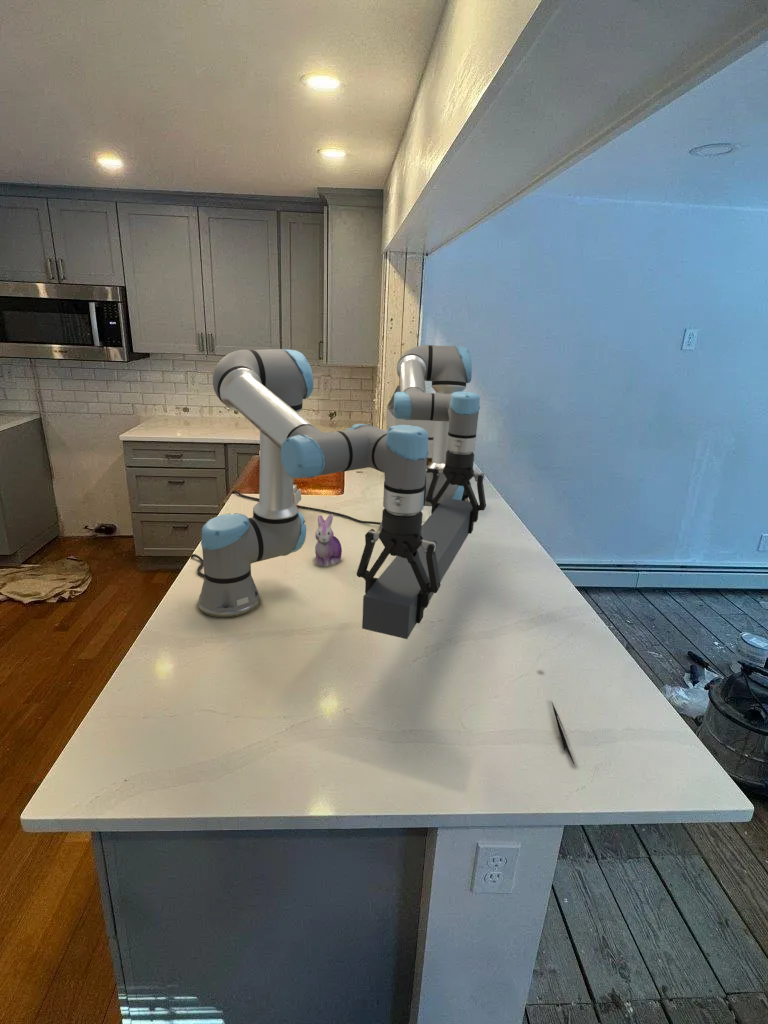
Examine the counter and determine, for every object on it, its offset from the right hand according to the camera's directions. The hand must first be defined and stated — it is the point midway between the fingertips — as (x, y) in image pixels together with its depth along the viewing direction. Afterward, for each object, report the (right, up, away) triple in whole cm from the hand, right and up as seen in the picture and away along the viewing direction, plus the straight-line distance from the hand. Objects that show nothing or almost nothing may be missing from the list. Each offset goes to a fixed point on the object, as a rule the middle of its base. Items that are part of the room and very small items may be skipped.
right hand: (453, 528), depth 159 cm
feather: (+15, -36, -46) cm, 60 cm away
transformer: (-2, +24, +116) cm, 118 cm away
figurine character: (+11, +7, +71) cm, 72 cm away
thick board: (-9, -8, -23) cm, 26 cm away
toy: (-57, +3, +52) cm, 77 cm away
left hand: (-17, -16, -46) cm, 51 cm away
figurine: (-37, -11, +17) cm, 42 cm away
